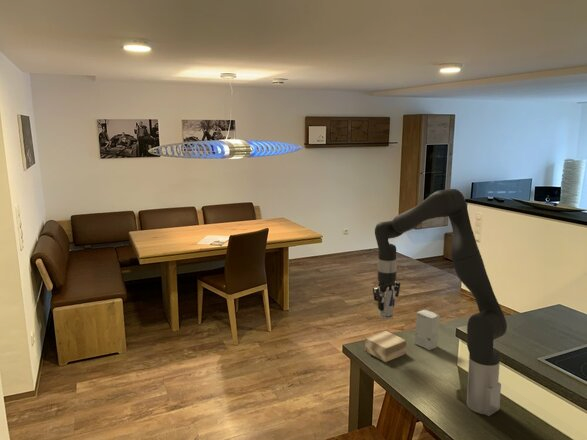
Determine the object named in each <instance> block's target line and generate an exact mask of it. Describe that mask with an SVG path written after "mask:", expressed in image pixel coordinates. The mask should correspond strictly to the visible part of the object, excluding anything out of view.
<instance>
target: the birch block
mask: <svg viewBox="0 0 587 440" xmlns="http://www.w3.org/2000/svg"><path fill="white" fill-rule="evenodd" d="M364 351H365V352H366V351H367V352H366V353H368V354H370V355H371V356H374V357H375V358H377V359H378V360H381V361H383V362H385V363H387V362H389V361H392V360H394V359H397V358H399V357H402V356H404V355H406V354H407V340H406V339H404V338H402V337H400V336H397V335H396V334H394V333H391V332H389V331H387V330H383V331H381V332H377V333H375V334H372V335H369V336H366V337H364Z"/></svg>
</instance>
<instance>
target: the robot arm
mask: <svg viewBox="0 0 587 440" xmlns="http://www.w3.org/2000/svg"><path fill="white" fill-rule="evenodd" d="M447 217H448V218H449V221H450V225H451V228H452V242H451V248H450V258H451V262H452V265H453V267H454V271H455V273H456V276H457V278H458V279H459V281H460V282H461V283H462V284H463V285H464V286H465V287H466V288H467V290H469V291H470V293H471V294H472V296H473V298H474V299H475V302H476V305H477V308H478V311H479V312H477V313H475V314H472V315H470V317H469V318H468V321H467V326H466V345H467V350H468V373H467V388H466V389H467V391H466V392H467V393H466V406H467V408H468V409H469V410H471V411H473V412H475V413H478V414H479V415H485V416H487V417H490V416H492V415H494V414H496V412H498V411H499V410H500V405H501V404H500V403H501V390H502V389H501V388H502V383H500V382H499V379H500V378H499V376H500V365H501V353H500V352H499V351H498V350H497V349H496V348H494V340H496V339H498V338H501V337H503V336H504V335H505V334H506V332H507V330H508V326H507V325H508V323H507V320H506V317H505V315H504V313H503V310H502V308H501V306H500V304H499V301H498V298H497V297H496V295H495V293H494V290H493V289H494V288H493V286H492V284H491V281H490V279H489V276H488V274H487V270H486V266H485V264H484V259H483V257H482V254H481V252H480V249H479V246H478V244H477V241H476V240H477V239H476V237H475V233H474V231H473V227H472V224H471V220H470V215H469V211H468V207H467V203H466V199H465V196H464V195H463V193H462V192H461V191H460V190H459V189H456V188H448V189H441V190H436V191H435V192H433V193H432V194H430V195H428V197H427V198H425V199H424V200H423V201H421V202H420V203H419V204H417V205H416V206H414V207H412V208H410V209H407V210H406V211H404V212H402V213H399V214H397V215H396V216H394V217H393V219H391V220H386V221H380V222H378V223H377V224H376V225H375V227H374V236H375V240H376V244H377V247H378V259H377V260H378V262H377V281H378V285H377V286H376V287H374V286H373V287H372V293H373V301H376V302H377V309H378V310H379V312H380V311H384V299H385V297H386V295H385V294H386V292H387V291H388V290H392V289H393V308H395V301H396V300H395V299H396V298H399V294H400V290H401V282H399V281H397V267H398V266H397V247H396V245H395V244H393V243H390V242H389V239H394V238H398V237H400V236H402V235H403V234H405V233H406V232H409V231H411V230H413V229H415V228H417V227H418V226H420V225H421V224H423V222H426V221H427V220H430V219H431V220H432V219H435V218H436V219H437V218H447ZM380 291H381V292H383V293H384V295H382V294H380ZM381 296H382V299H381Z"/></svg>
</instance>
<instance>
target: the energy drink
mask: <svg viewBox="0 0 587 440" xmlns="http://www.w3.org/2000/svg"><path fill="white" fill-rule="evenodd" d="M380 294H382V295H384V293H383V292H381V291H380ZM385 295H386V297H385V299H384V311H380V310H379V317H380V318H382V319H386V320H388V319H392V318H393V317H394V315H393V313H394V307H393V289H392V290H388V291H387V292H386V294H385ZM381 299H382V296H381Z"/></svg>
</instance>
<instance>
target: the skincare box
mask: <svg viewBox="0 0 587 440" xmlns="http://www.w3.org/2000/svg"><path fill="white" fill-rule="evenodd" d="M440 320H441V316H440V315H439V314H438V313H435V312H433V311H430V310H427V309H422V310H419V311H417V312H416V323H415V332H414V333H415V334H414V344H415V345H416V346H419V347H422V348H424V349H426V350H428V351H431V350H433V349H436V348H437V347H438V346H439V345H438V342H439V331H440Z"/></svg>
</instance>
